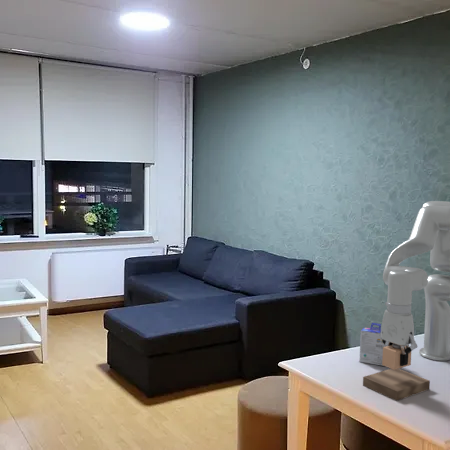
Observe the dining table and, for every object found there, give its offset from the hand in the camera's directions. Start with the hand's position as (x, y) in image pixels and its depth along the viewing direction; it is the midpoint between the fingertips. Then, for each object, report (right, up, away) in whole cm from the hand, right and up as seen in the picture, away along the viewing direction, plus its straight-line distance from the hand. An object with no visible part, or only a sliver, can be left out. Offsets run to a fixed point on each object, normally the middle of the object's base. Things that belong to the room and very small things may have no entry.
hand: (396, 361), depth 179 cm
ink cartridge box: (-1, -6, +24) cm, 25 cm away
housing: (0, -1, 0) cm, 1 cm away
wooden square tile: (0, -9, +1) cm, 9 cm away
